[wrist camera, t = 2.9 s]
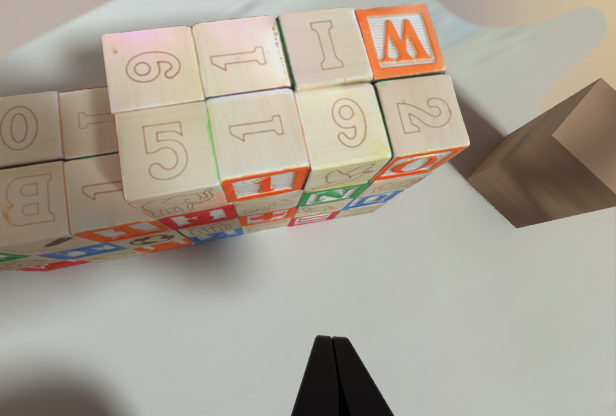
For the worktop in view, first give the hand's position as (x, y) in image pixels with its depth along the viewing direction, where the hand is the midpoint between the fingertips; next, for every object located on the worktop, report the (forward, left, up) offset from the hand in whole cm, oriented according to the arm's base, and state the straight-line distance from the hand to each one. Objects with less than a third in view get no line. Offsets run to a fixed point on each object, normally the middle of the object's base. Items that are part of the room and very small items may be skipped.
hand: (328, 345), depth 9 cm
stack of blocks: (+9, -2, -14) cm, 17 cm away
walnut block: (-5, -18, -14) cm, 23 cm away
